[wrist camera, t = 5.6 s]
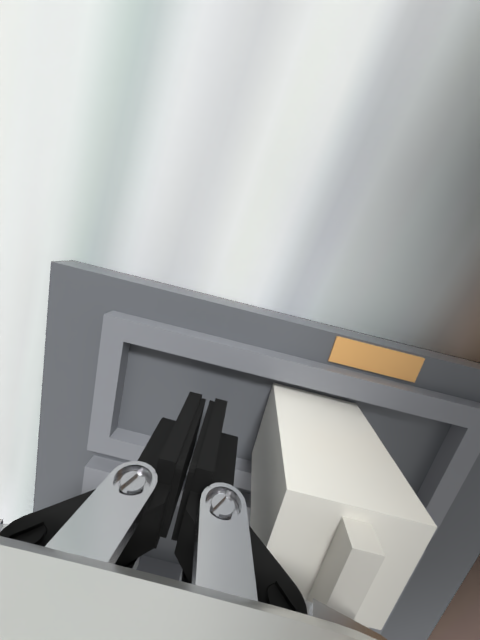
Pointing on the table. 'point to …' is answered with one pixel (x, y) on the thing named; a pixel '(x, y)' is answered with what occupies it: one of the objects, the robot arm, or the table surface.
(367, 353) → the switch bank
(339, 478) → the tab
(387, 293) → the table surface
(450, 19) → the table surface
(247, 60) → the table surface
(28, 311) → the table surface
